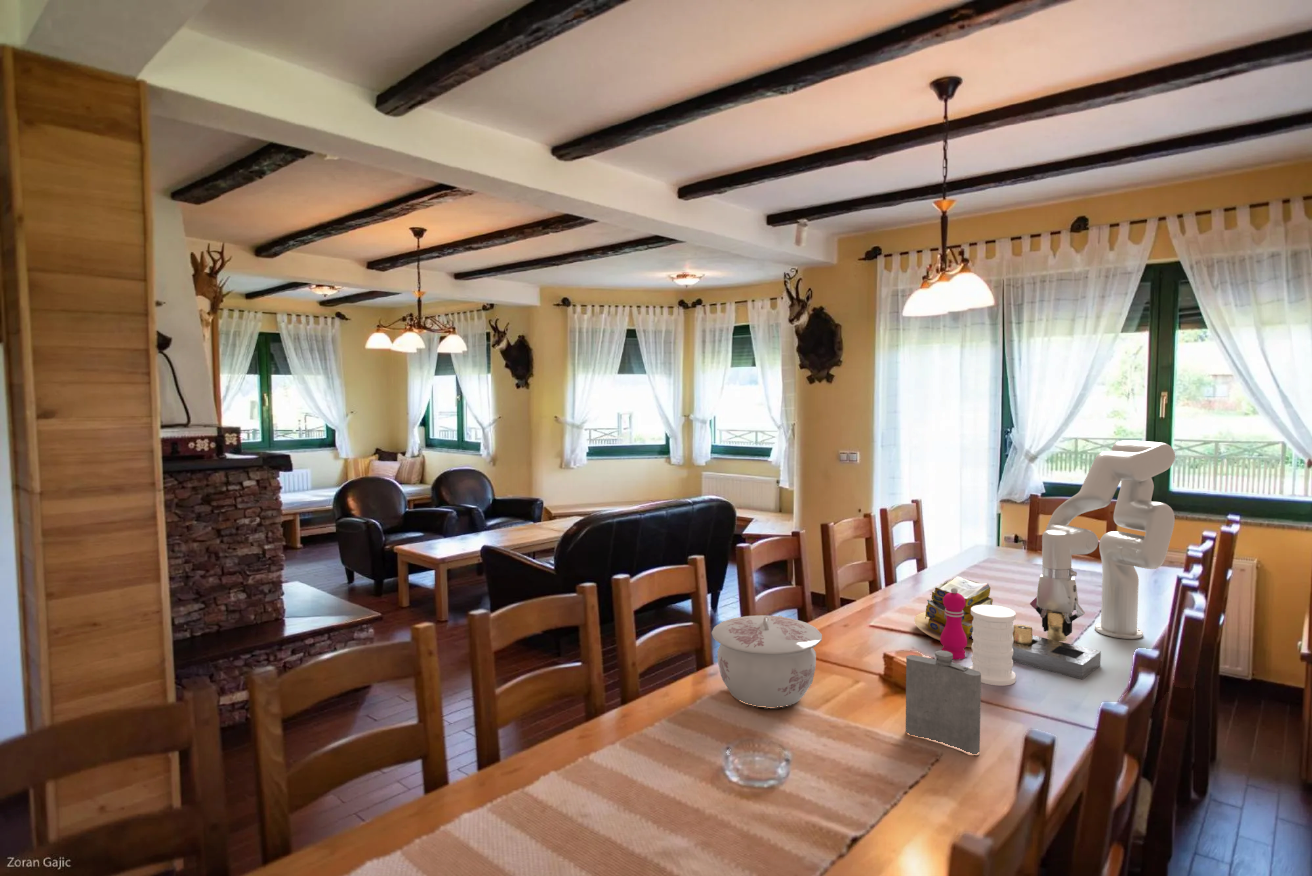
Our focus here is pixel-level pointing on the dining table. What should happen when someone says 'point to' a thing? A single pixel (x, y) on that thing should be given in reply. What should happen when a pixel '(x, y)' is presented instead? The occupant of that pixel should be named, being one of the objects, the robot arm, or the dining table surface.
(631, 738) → the dining table surface
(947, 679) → the hip flask
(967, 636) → the stacked packages on plate
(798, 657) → the chamber pot
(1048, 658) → the jig
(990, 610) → the decorative container
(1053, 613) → the bushing
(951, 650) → the pepper mill
